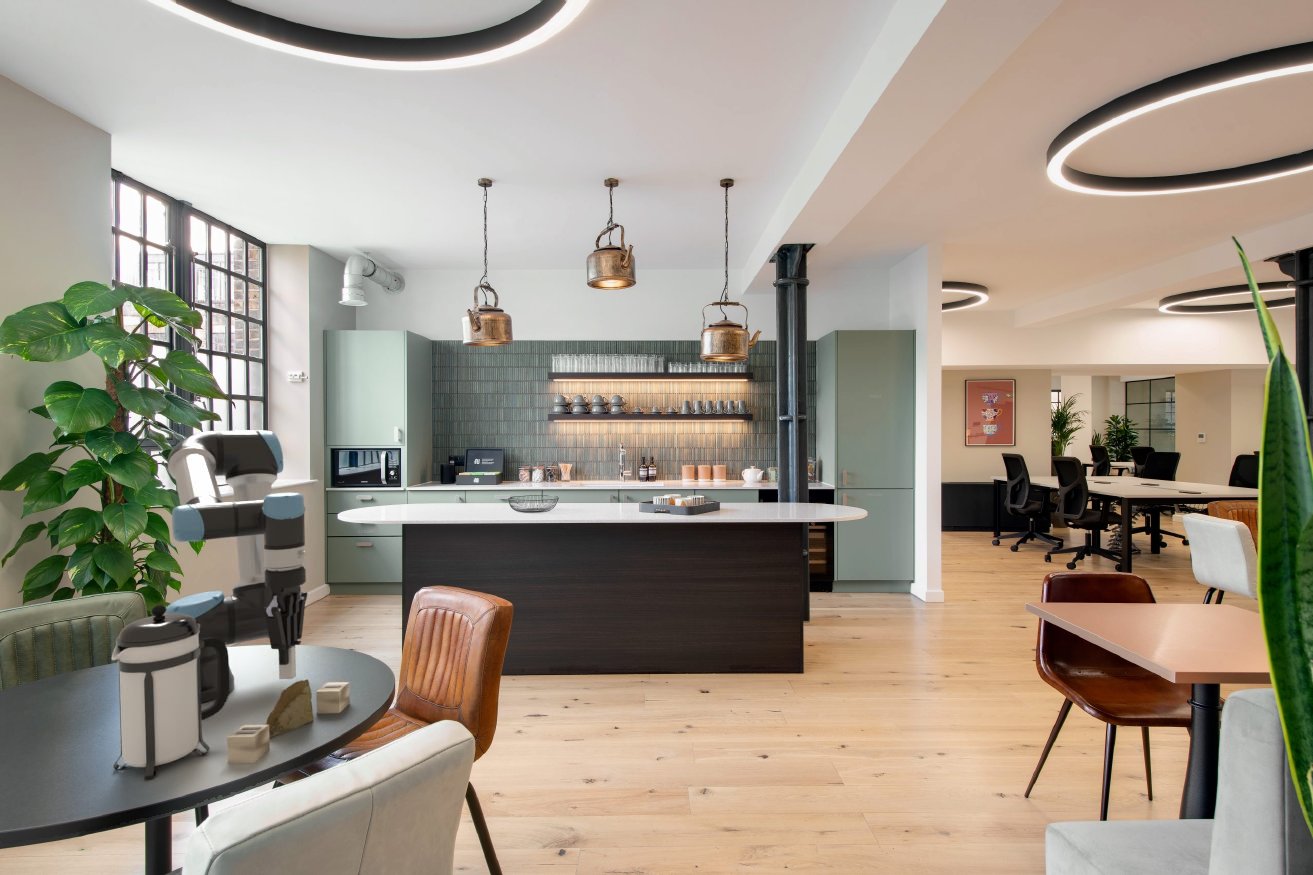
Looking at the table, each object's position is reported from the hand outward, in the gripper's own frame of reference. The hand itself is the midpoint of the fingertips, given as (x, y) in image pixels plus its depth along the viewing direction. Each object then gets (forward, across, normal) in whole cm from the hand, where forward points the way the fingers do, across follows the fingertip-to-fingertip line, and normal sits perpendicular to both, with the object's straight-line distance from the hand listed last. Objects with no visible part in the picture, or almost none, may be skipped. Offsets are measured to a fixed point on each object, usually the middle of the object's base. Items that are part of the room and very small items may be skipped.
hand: (287, 677), depth 138 cm
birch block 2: (+11, +9, -5) cm, 15 cm away
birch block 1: (+11, -12, +1) cm, 16 cm away
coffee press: (+11, -12, +16) cm, 23 cm away
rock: (+11, 0, 0) cm, 11 cm away
